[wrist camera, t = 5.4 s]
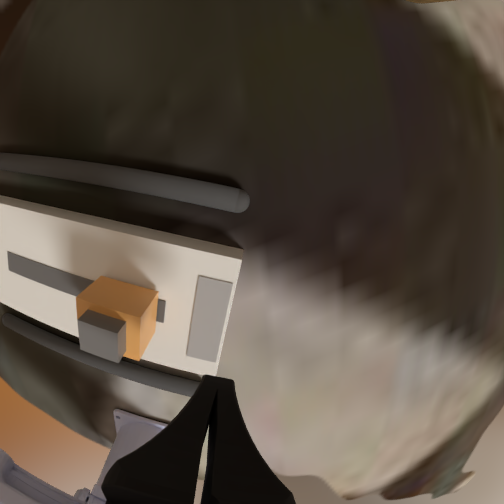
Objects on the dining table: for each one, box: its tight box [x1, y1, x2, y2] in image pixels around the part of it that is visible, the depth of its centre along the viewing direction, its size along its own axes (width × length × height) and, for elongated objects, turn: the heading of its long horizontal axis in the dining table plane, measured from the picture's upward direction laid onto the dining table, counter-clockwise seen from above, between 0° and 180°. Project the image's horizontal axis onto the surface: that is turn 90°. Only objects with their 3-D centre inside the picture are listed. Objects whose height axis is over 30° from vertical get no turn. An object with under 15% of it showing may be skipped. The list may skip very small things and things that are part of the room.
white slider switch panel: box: [0, 195, 244, 376], centre depth 18 cm, size 9×22×2 cm, turn 77°
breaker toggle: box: [76, 276, 159, 363], centre depth 15 cm, size 3×4×4 cm
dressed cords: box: [0, 153, 250, 397], centre depth 19 cm, size 16×21×1 cm
